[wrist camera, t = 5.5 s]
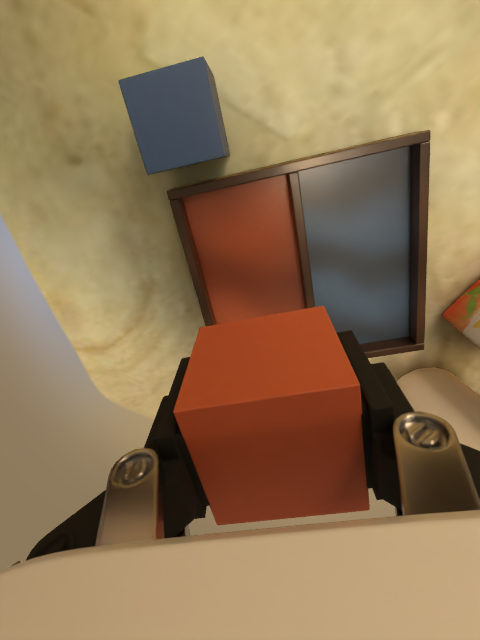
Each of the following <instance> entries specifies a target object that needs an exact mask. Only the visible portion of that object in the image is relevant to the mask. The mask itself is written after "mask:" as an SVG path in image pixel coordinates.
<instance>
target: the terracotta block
mask: <svg viewBox="0 0 480 640" xmlns="http://www.w3.org/2000/svg"><path fill="white" fill-rule="evenodd" d="M173 413H174V415H175V418H176V420H177V423H178V426H179V428H180V431H181V433H182V436H183V438H184V440H185V442H186V445H187V447H188V450H189V453H190V455H191V458H192V460H193V463H194V465H195V468H196V471H197V473H198V476H199V478H200V481H201V484H202V486H203V489H204V491H205V494H206V496H207V499H208V502H209V504H210V508H211V511H212V513H213V516H214V518H215V521H216V523H217V525H225V524H235V523H246V522H256V521H266V520H276V519H286V518H295V517H306V516H315V515H326V514H336V513H346V512H355V511H366V510H369V494H368V488H367V484H366V472H365V459H364V447H363V434H362V422H361V414H362V404H361V391H360V383H359V381H358V379H357V377H356V375H355V373H354V370H353V368H352V366H351V364H350V362H349V359H348V357H347V355H346V353H345V351H344V349H343V346H342V344H341V342H340V340H339V338H338V335H337V333H336V331H335V329H334V327H333V325H332V322H331V320H330V318H329V316H328V314H327V311H326V309H325V307H324V306H318V307H312V308H307V309H301V310H296V311H290V312H284V313H279V314H273V315H268V316H262V317H256V318H251V319H245V320H240V321H234V322H228V323H223V324H217V325H212V326H206V327H201V328H200V329H199V332H198V335H197V338H196V341H195V344H194V347H193V351H192V354H191V357H190V360H189V363H188V366H187V370H186V373H185V376H184V379H183V382H182V385H181V388H180V392H179V395H178V398H177V401H176V404H175V407H174V411H173Z"/></svg>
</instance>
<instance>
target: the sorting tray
mask: <svg viewBox="0 0 480 640" xmlns="http://www.w3.org/2000/svg"><path fill="white" fill-rule="evenodd" d="M429 141H430V130H427V131H419V132H413V133H409V134H404V135H400V136H396V137H391V138H387V139H383V140H379V141H374V142H370V143H366V144H361V145H357V146H353V147H348V148H344V149H340V150H336V151H331V152H327V153H323V154H318V155H314V156H310V157H305V158H301V159H297V160H292V161H288V162H284V163H280V164H275V165H271V166H267V167H262V168H258V169H254V170H249V171H245V172H241V173H237V174H232V175H228V176H224V177H219V178H215V179H211V180H206V181H202V182H198V183H194V184H189V185H185V186H181V187H176V188H173V189H171V190H168V191H167V195H168V198H169V200H170V205H171V208H172V212H173V215H174V219H175V222H176V225H177V229H178V232H179V236H180V239H181V243H182V246H183V249H184V253H185V256H186V260H187V263H188V267H189V270H190V274H191V277H192V280H193V284H194V287H195V291H196V294H197V298H198V301H199V304H200V308H201V311H202V315H203V318H204V322H205V325H206V326H212V325H217V324H223V323H228V322H234V321H240V320H245V319H251V318H256V317H262V316H268V315H273V314H279V313H284V312H290V311H296V310H301V309H307V308H312V307H318V306H324V307H325V309H326V311H327V314H328V316H329V318H330V320H331V322H332V325H333V327H334V329H335V331H336V333H337V332H343V331H349V330H352V331H353V333H354V335H355V337H356V339H357V340H358V342H359V344H360V346H361V348H362V350H363V351H364V353H365V355H366V357H367V358H372V357H379V356H385V355H392V354H398V353H405V352H411V351H418V350H424V334H425V300H426V265H427V231H428V196H429V162H430V142H429Z"/></svg>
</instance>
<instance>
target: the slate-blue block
mask: <svg viewBox="0 0 480 640" xmlns="http://www.w3.org/2000/svg"><path fill="white" fill-rule="evenodd" d="M119 85H120V88H121V91H122V95H123V98H124V101H125V104H126V107H127V111H128V114H129V117H130V120H131V124H132V127H133V130H134V133H135V137H136V140H137V143H138V146H139V150H140V153H141V156H142V159H143V163H144V166H145V169H146V172H147V175H150V174H154V173H159V172H164V171H168V170H172V169H177V168H181V167H185V166H189V165H193V164H197V163H202V162H206V161H210V160H214V159H218V158H222V157H227V156H230V153H229V148H228V143H227V138H226V133H225V128H224V123H223V118H222V113H221V109H220V104H219V99H218V94H217V89H216V84H215V79H214V75H213V73H212V72H211V70H210V68H209V66H208V64H207V62H206V60H205V58H204V57H199V58H196V59H192V60H189V61H185V62H182V63H178V64H175V65H171V66H167V67H164V68H160V69H157V70H153V71H150V72H146V73H143V74H139V75H136V76H132V77H128V78H125V79H121V80H119Z"/></svg>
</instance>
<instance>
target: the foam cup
mask: <svg viewBox="0 0 480 640" xmlns="http://www.w3.org/2000/svg"><path fill="white" fill-rule="evenodd" d="M397 384H398V385H399V387H400V389H401V390H402V392H403V393H404V395H405V397H406V398H407V400H408V401H409V403H410V405H411V406H412V408H413V409H414V411H415V412H418V411H419V412H427V413H431V414H434V415H437V416H439V417H441V418H443V419H444V420H446V421H447V422H448V423H449V424H450V425H451V426H452V427H453V429H454V430H455V432H456V435H457V437H458V440H459V443H461V444H464V445H466V446H469V447H471V448H474V449H476V450H479V451H480V395H479V394H477V393H476V392H475V391H474V390H472V389H471V388H470V387H469V386H467V385H466V384H465V383H464V382H462V381H461V380H460V379H459V378H457V377H456V376H455V375H453V374H451V373H450V372H449V371H446V370H443V369H439V368H436V367H431V368H421V369H416V370H414V371H412V372H410V373H408V374H406V375H403V376H402V377H401V378H400V379H399V380H398V381H397Z"/></svg>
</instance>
